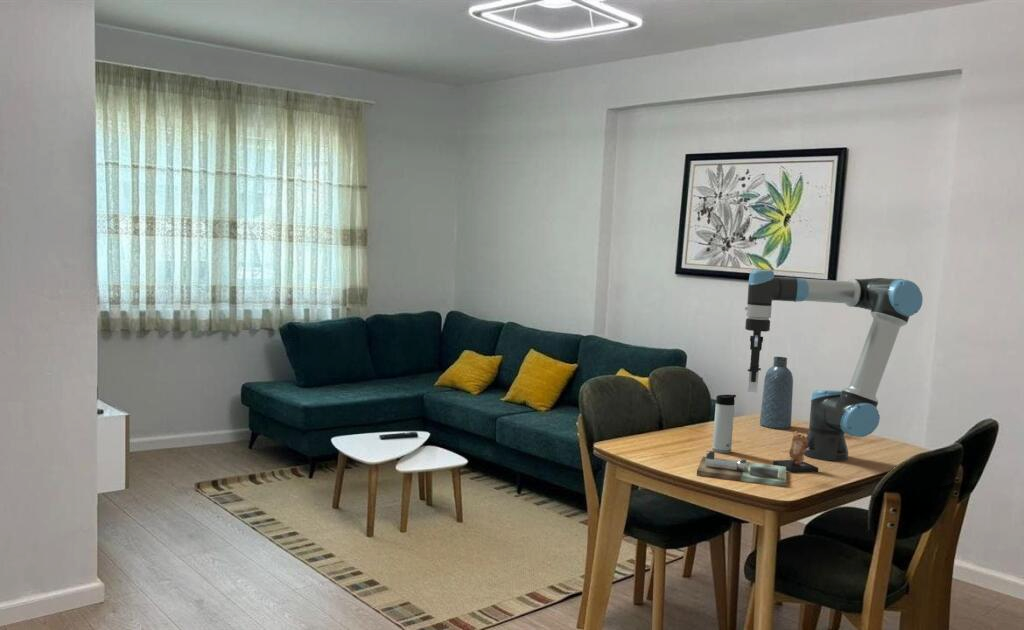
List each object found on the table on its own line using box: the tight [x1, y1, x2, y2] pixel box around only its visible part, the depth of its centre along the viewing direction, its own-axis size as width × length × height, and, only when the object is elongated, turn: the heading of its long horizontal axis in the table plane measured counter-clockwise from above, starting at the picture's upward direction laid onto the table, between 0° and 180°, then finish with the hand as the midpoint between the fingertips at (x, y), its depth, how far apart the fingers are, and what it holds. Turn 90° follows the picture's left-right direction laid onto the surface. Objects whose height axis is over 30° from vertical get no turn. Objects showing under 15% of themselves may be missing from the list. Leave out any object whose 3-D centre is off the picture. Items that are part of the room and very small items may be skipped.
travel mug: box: [711, 394, 737, 454], centre depth 292 cm, size 6×7×20 cm
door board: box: [696, 456, 787, 488], centre depth 264 cm, size 26×20×4 cm
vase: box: [759, 356, 794, 430], centre depth 343 cm, size 12×12×28 cm
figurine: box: [772, 430, 819, 474], centre depth 274 cm, size 10×10×12 cm
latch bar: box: [705, 450, 750, 471], centre depth 262 cm, size 13×4×4 cm, turn 72°
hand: (752, 390), depth 272 cm, fingers open, 3 cm apart
